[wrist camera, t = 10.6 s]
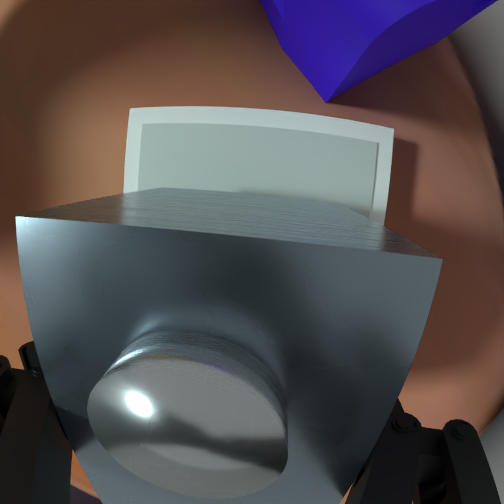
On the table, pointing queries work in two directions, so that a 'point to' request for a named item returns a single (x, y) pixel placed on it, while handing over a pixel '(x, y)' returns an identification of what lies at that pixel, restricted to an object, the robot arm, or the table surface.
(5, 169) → the table surface
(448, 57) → the table surface
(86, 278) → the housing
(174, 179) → the tray
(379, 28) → the bracket
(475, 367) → the table surface
